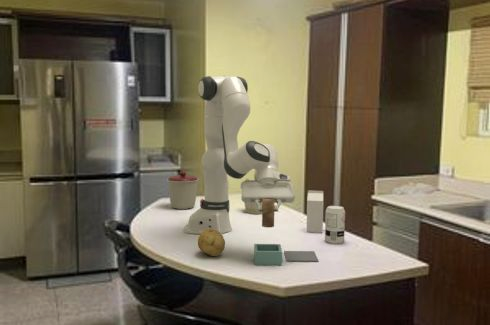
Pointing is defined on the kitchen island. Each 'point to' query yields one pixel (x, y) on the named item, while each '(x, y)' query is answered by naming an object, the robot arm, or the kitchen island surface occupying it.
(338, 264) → the kitchen island surface
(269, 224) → the walnut peg
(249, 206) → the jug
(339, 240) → the supplement can
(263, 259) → the tub
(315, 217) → the milk carton
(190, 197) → the canister
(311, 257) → the mat
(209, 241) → the potato
